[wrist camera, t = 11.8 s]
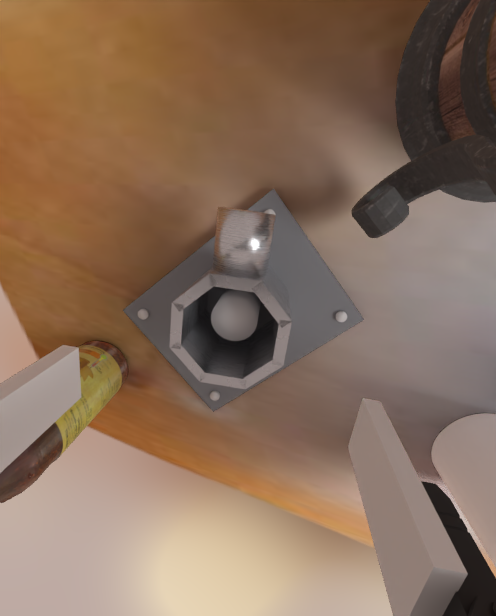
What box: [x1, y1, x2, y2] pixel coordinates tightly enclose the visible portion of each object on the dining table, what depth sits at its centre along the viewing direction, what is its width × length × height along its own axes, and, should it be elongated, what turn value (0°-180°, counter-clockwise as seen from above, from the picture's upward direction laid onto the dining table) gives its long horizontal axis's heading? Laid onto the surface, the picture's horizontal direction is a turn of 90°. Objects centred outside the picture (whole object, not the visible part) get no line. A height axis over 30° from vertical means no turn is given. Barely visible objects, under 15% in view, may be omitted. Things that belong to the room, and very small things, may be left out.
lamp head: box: [169, 207, 292, 389], centre depth 23 cm, size 12×8×8 cm, turn 172°
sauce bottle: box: [0, 341, 128, 503], centre depth 23 cm, size 6×6×20 cm
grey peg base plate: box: [123, 189, 364, 412], centre depth 26 cm, size 18×14×6 cm
